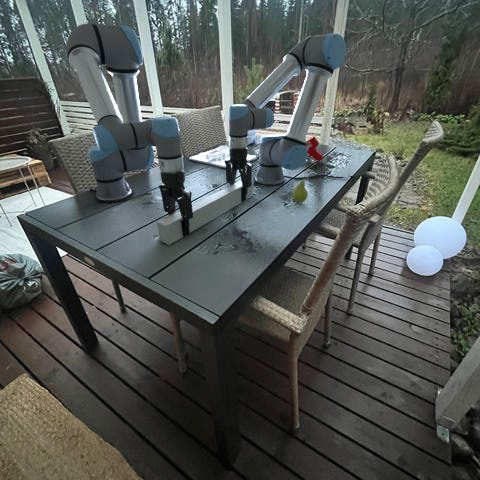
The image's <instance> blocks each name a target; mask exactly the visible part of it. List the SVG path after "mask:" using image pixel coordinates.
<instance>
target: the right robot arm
mask: <svg viewBox="0 0 480 480" xmlns="http://www.w3.org/2000/svg"><path fill="white" fill-rule="evenodd" d="M346 56H347V45H346V41H345V39H344V37H343V36H342V34H340V33H330V32H329V33H327V34H319V35H318V34H317V35H309V36H307V37H304V39H302V40H301V41H299V42H298V43H297V44H296V45H294V47H292V48H291V50H289V51H288V53H286V54H285V55H284V57H283V61H282V62H280V64H279V65H278V66H277V67H276V68H275V69H274V70H273V71H272V72H271V73H270V74H269V75H268V76H267V77H266V78H265V79H264V80H263V81H262V82H261V83H260V84H259V85H258V87H257V88H255V90H253V91H252V92H251V93H250V95H248V96H247V97H246V98H245V100H244V101H242V103H238V104H231V105H229V107H228V112H227V121H228V148H229V156H230V159H228V160H225V161H224V162H225V165H226V168H225V182H226V183H228V184H229V186H231V185H233V184H235V183H237V181H236V179H237V173H239V174H240V181H242V186H243V187H242V188H241V202H242V203H244V202H246V201H247V200H246V194H247V193H248V188H249V187H250V186H252V180H253V168H254V164H253V163H250V162H248V161H247V155H248V149H249V148H248V145H249V144H248V130H255V131H256V130H265V129H269V128H271V127H272V126H273V125H274V124H275V123H274V122H275V113H274V111H273V110H272V109H271V108H270V107H265V106H266V105H267V104H268V103H269V102H270V101H271V100H272V99H273V98H274V97H275V96H276V95H277V94H278V93H279V92H280V91H281V90H282V88H283V87H285V85H287V83H289V81H291V80H292V79H293V78H294V76H299V75H300V74H301V73H302V72H303V71H306V77H305V79H304V83H303V86H302V88H301V91H300V94H299V97H298V98H297V99H298V100H297V102H296V105H295V108H294V111H293V114H292V117H291V120H290V123H289V126H288V129H287V132H284V134H279V133H278V134H266V135H262V136H260V139H259V143H258V145H259V153H258V157H259V158H258V167H257V171H256V174H255V178H254V181H255V183H258V184H259V185H262V186H263V185H264V186H279V185H281V184H283V183H284V181H285V178H286V179H292V180H305V179H306V178H307V177H308V176H301V177H293V176H289V175H284V172H283V171H284V170H283V169H286V170H289V171H296V170H299V169H300V168H302V167H303V166H304V165H305V163H306V161H307V159H308V158H307V156H308V153H307V148H306V144H307V139H306V137H307V134H308V131H309V129H310V126H311V123H312V121H313V118H314V115H315V113H316V110H317V107H318V104H319V102H320V100H321V98H322V97H321V96H322V93H323V91H324V88H325V86H326V84H327V80H329V79H331V78H332V77H333V74H334V73H335V70H337V69H339V68H340V67H342V65H343V64H344V62H345V60H346ZM231 164H232V168H231ZM315 175H316V176H314V175H310V176H311V177H309V178H307V179H311V178H318V177H327V178H332V179H344V178H345V177H342V176H336V177H334V176H335V175H330V176H328V175H329V174H315ZM349 178H351V179H352V178H354V177H353V175H352V176H349Z"/></svg>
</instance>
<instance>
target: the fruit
mask: <svg viewBox="0 0 480 480" xmlns="http://www.w3.org/2000/svg"><path fill="white" fill-rule="evenodd" d="M310 176H311V175H310V174H309V175H307V176H306V177H307V178H305V179H301V181H300V182H298V184H297V185H296V186H295V187H294V188H293V190H292V191H291V198H292V200H293V201H294V202H295V203H297V204H301V203H304V202H305V201H306V200H307V198H308V196H309V195H308V190H307V189H306V184H305V183H306V180H308V179H310V178H309V177H310Z"/></svg>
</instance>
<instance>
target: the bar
mask: <svg viewBox="0 0 480 480" xmlns="http://www.w3.org/2000/svg"><path fill="white" fill-rule="evenodd" d="M242 187H243V186H242V181H241V180H238V181H236V183H234V184H233V185H231V186H230V185H229V186H226V187H224V188H223V189H220V190H219V191H216V192H215V193H212V194H210V195H208V196H206V197H205V198H202V199H200V200H198V201H195V202H194V203H192V211H193V218H191V219H189V224H190V226H189V231H190V233H189V234H191V233H192V232H194V231H196V230H197V229H199V228H201V227H203V226H205V225H207V223H210V221H213V220H214V219H216V218H218V217H220V216H221V215H223V214H225V213H226V212H228V211H230V210H231V209H233V208H235V207H236V206H238V205H240V204H241V203H243V202H241V188H242ZM253 196H254V180H253V179H252V186H250V187H249V188H248V193H247V194H246V200H245V201H247V200H248V199H250V198H252V197H253ZM181 219H182V217H181V213H180V210H178V211H176V212H175V213H174V214H172V215H170V216H169V215H168V216H165V217H164V218H162V219H160V220H158V221H156V227H157V231H158V235H159V236H158V237H159V241H160V242H162V243H164V244H166V245H168V246H171V245H172V244H174V243H175V242H177V241H179V240H180V239H183V237H185V236H183V233H182V226H181Z"/></svg>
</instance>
